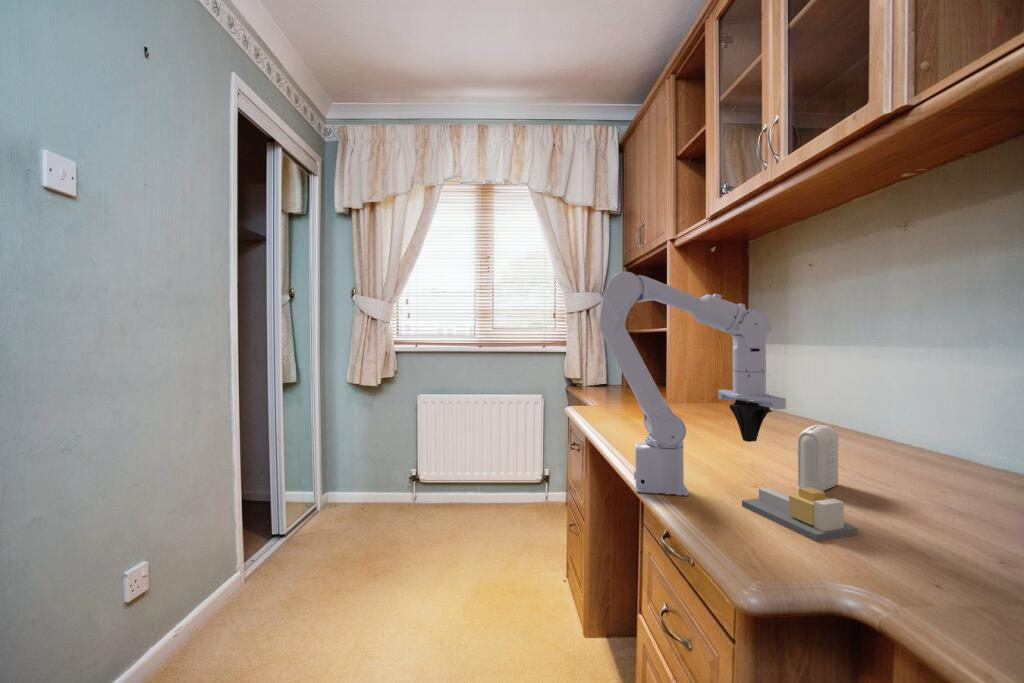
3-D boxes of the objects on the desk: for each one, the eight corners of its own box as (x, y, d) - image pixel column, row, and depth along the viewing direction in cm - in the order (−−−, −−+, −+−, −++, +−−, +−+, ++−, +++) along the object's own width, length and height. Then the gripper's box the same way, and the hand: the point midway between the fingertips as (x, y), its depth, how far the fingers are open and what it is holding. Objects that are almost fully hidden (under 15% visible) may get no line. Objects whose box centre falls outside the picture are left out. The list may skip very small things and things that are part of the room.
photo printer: (817, 479, 91) (817, 420, 91) (841, 484, 87) (841, 424, 87) (794, 488, 85) (794, 426, 85) (819, 495, 81) (819, 430, 81)
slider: (789, 515, 69) (788, 487, 69) (811, 511, 70) (811, 484, 70) (812, 525, 65) (812, 496, 65) (835, 521, 67) (835, 493, 67)
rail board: (741, 506, 77) (741, 478, 77) (777, 501, 79) (777, 474, 79) (816, 541, 63) (816, 507, 63) (857, 534, 65) (856, 501, 65)
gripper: (799, 373, 78) (799, 448, 78) (737, 368, 92) (737, 431, 92) (767, 374, 76) (768, 451, 76) (709, 369, 90) (710, 434, 90)
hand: (749, 440), depth 84 cm, fingers closed
